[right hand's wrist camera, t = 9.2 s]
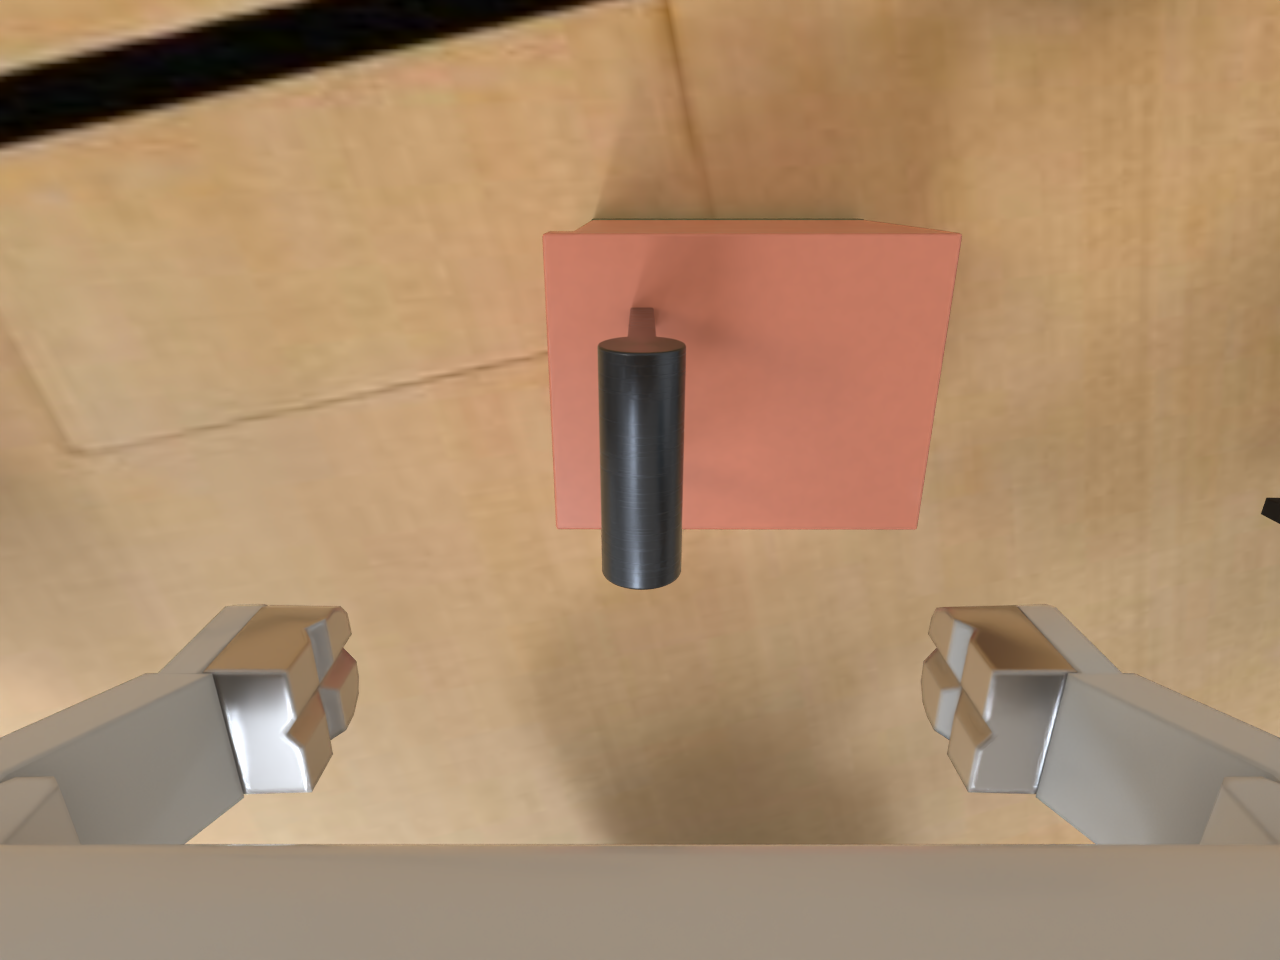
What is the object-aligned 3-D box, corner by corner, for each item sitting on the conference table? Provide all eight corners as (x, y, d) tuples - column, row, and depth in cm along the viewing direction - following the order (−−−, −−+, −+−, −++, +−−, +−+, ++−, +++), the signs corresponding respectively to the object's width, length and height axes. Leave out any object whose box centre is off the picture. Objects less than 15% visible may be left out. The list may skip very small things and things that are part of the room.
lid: (559, 516, 26) (522, 660, 18) (546, 231, 22) (493, 254, 14) (906, 517, 26) (1023, 661, 18) (949, 231, 22) (1117, 253, 14)
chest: (597, 430, 35) (581, 516, 26) (592, 218, 31) (572, 231, 22) (837, 431, 35) (906, 516, 26) (859, 218, 31) (949, 230, 22)
